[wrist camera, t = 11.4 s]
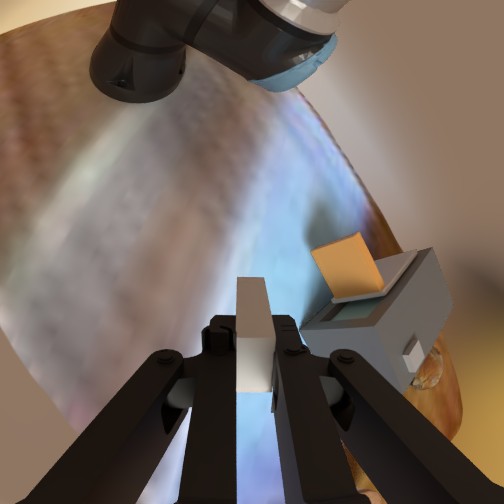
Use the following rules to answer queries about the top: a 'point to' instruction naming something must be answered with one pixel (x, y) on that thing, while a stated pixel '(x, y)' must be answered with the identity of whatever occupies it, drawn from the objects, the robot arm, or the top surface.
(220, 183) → the top surface
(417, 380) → the bread roll
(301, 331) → the box
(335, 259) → the door
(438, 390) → the top surface
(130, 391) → the robot arm
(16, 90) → the top surface
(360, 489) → the lidded bowl
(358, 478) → the top surface
